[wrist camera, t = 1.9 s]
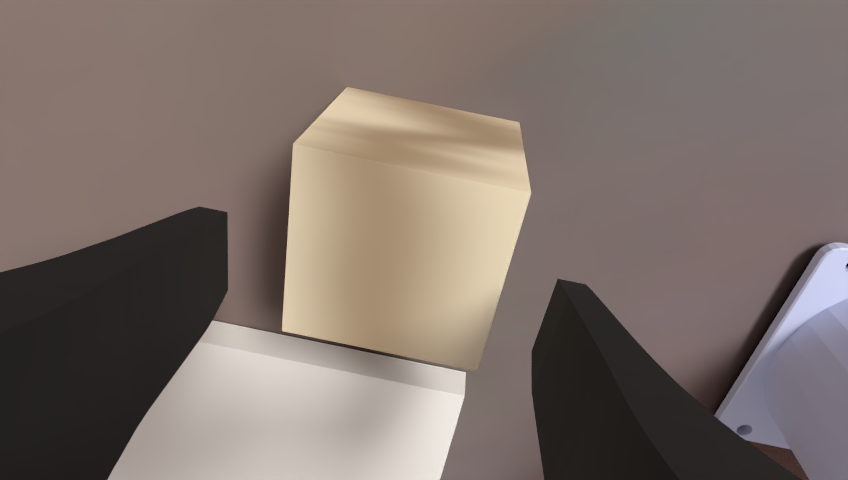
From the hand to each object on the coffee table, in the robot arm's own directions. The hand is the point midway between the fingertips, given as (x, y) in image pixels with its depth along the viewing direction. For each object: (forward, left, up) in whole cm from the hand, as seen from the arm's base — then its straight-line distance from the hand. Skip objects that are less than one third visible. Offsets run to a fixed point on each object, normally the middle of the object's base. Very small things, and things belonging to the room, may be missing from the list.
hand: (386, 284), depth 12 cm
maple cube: (0, 0, -6) cm, 6 cm away
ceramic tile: (+4, +13, -6) cm, 15 cm away
